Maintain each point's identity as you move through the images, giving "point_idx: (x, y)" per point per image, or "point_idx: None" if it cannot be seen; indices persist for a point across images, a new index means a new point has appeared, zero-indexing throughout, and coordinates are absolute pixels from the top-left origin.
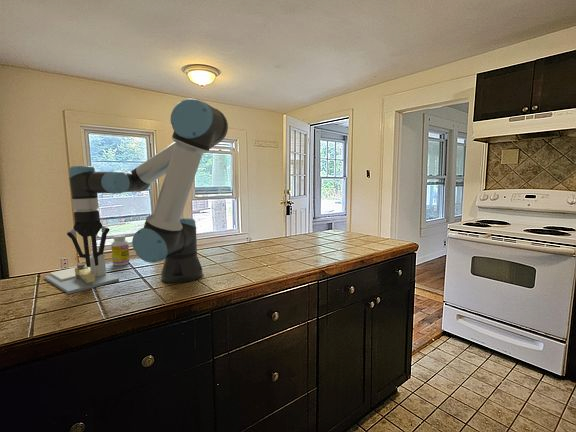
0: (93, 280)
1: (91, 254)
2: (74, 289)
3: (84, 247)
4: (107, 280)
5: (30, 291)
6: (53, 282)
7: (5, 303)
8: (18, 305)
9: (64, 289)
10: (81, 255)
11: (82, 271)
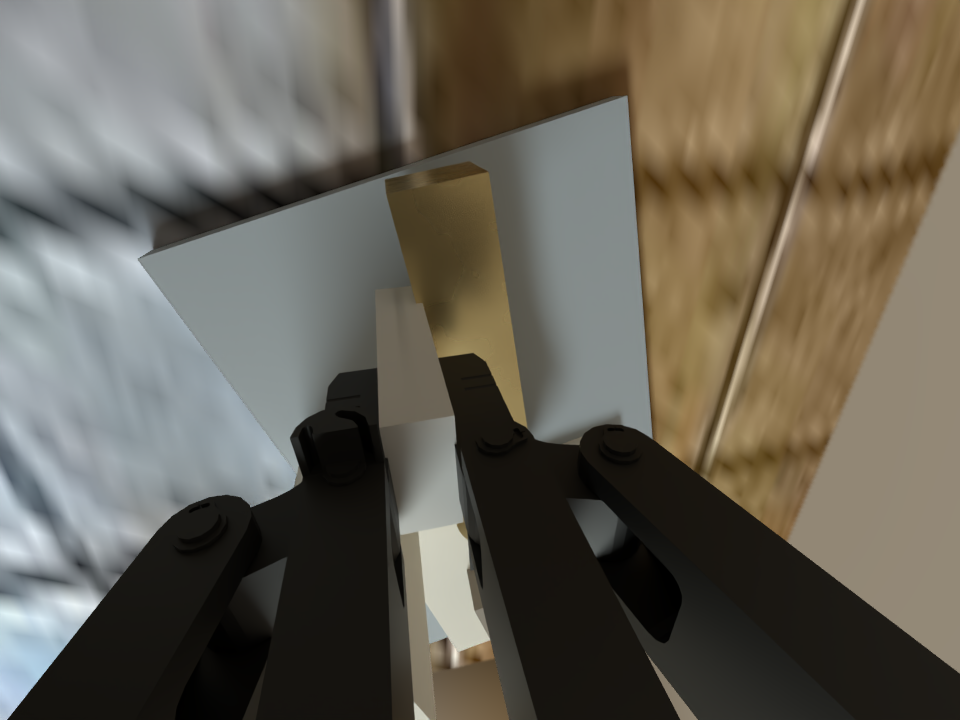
0: (401, 179)
1: (424, 680)
2: (574, 119)
3: (644, 690)
4: (265, 245)
5: (765, 354)
6: (650, 434)
7: (936, 175)
8: (929, 45)
9: (632, 209)
10: (630, 450)
11: (509, 392)
